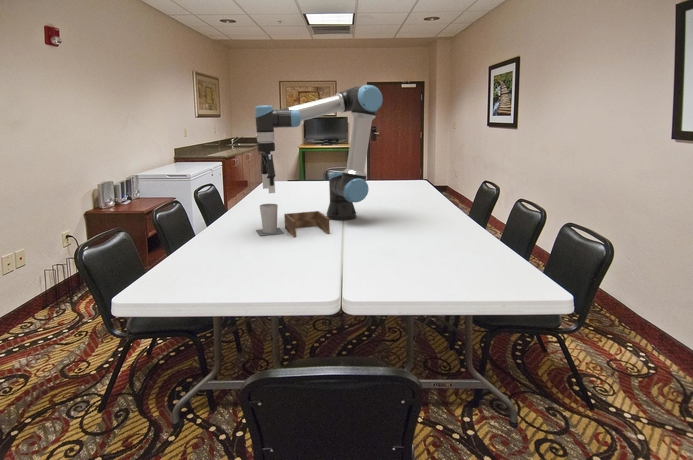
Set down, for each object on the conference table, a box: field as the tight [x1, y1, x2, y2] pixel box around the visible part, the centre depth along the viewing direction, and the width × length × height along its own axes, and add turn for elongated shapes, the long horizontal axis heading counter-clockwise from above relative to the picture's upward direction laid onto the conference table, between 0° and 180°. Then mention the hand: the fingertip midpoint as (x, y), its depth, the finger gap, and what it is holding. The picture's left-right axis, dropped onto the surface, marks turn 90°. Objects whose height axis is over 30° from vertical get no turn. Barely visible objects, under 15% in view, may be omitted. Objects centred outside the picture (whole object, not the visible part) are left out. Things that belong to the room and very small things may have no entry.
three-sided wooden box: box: [283, 210, 331, 238], centre depth 215 cm, size 16×17×7 cm
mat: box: [255, 227, 285, 237], centre depth 215 cm, size 11×11×1 cm
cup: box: [259, 203, 279, 233], centre depth 213 cm, size 8×8×12 cm
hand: (268, 190), depth 211 cm, fingers open, 13 cm apart
